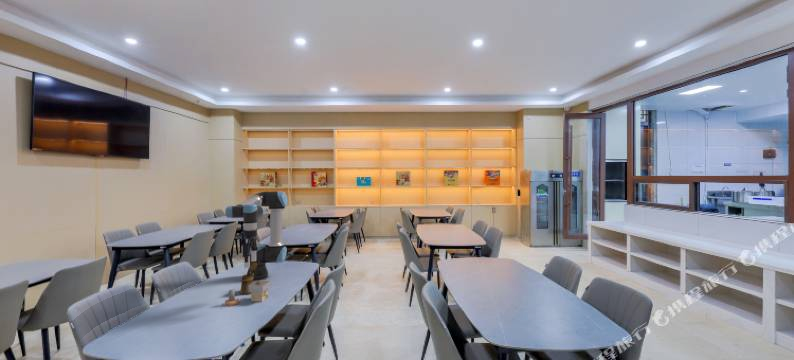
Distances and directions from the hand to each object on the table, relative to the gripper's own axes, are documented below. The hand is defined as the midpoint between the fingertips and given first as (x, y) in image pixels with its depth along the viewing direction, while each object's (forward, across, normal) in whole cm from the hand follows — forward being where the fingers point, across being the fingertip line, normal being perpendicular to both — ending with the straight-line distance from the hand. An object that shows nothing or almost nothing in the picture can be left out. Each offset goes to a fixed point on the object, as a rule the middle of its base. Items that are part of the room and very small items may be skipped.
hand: (250, 264), depth 186 cm
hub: (+23, +2, -10) cm, 25 cm away
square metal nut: (+17, -2, +5) cm, 17 cm away
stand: (+23, -2, +5) cm, 23 cm away
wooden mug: (+23, -17, -6) cm, 29 cm away
